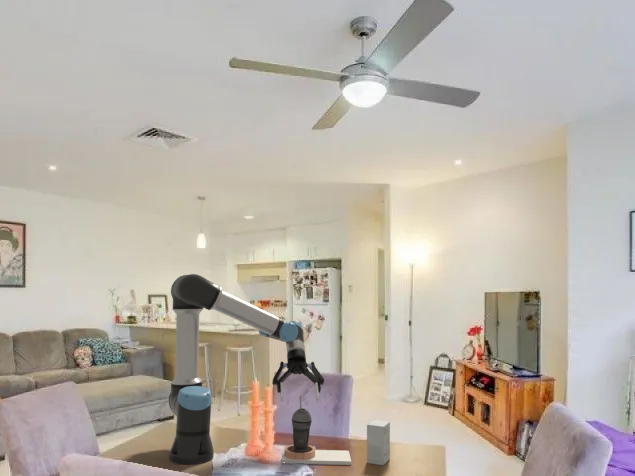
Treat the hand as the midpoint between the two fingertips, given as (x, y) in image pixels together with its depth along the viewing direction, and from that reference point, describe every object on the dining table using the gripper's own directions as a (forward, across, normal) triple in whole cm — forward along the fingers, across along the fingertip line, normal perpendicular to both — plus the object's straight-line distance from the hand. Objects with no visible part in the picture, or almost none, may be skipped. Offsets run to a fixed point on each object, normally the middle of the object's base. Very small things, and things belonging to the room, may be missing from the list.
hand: (299, 399), depth 183 cm
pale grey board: (+19, -5, -7) cm, 21 cm away
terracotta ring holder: (+18, +1, -7) cm, 19 cm away
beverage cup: (+18, 0, -7) cm, 19 cm away
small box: (+23, -27, -4) cm, 35 cm away
